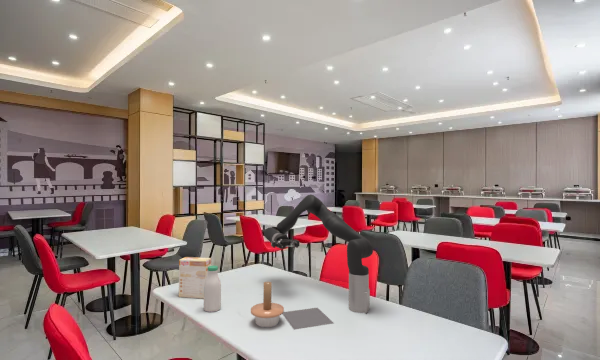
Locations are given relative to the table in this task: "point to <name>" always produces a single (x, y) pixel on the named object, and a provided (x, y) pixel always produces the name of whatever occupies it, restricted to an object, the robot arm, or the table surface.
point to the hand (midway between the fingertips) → (289, 246)
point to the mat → (306, 318)
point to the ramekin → (267, 321)
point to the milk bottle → (212, 290)
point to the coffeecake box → (193, 276)
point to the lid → (267, 305)
